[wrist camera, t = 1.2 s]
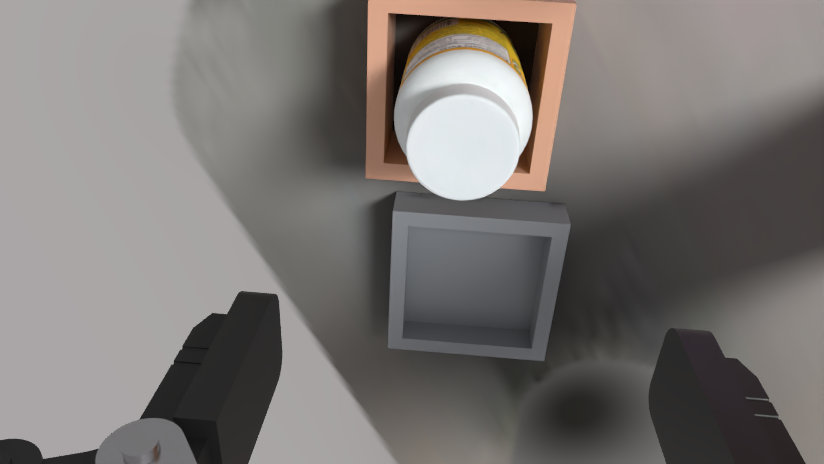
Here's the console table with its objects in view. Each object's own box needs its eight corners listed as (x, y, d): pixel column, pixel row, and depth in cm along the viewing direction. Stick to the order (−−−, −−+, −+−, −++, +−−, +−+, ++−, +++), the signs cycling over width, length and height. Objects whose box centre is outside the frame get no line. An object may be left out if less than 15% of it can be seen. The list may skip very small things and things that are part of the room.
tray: (564, 203, 34) (570, 224, 32) (539, 336, 38) (544, 361, 36) (396, 191, 34) (392, 211, 32) (391, 324, 38) (387, 348, 37)
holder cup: (562, -14, 28) (576, 3, 25) (536, 155, 33) (545, 191, 29) (379, -26, 29) (368, -10, 25) (375, 144, 33) (365, 178, 29)
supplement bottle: (423, -3, 29) (407, 52, 21) (536, 30, 30) (565, 97, 21) (394, 108, 32) (370, 196, 24) (498, 136, 32) (511, 233, 24)
